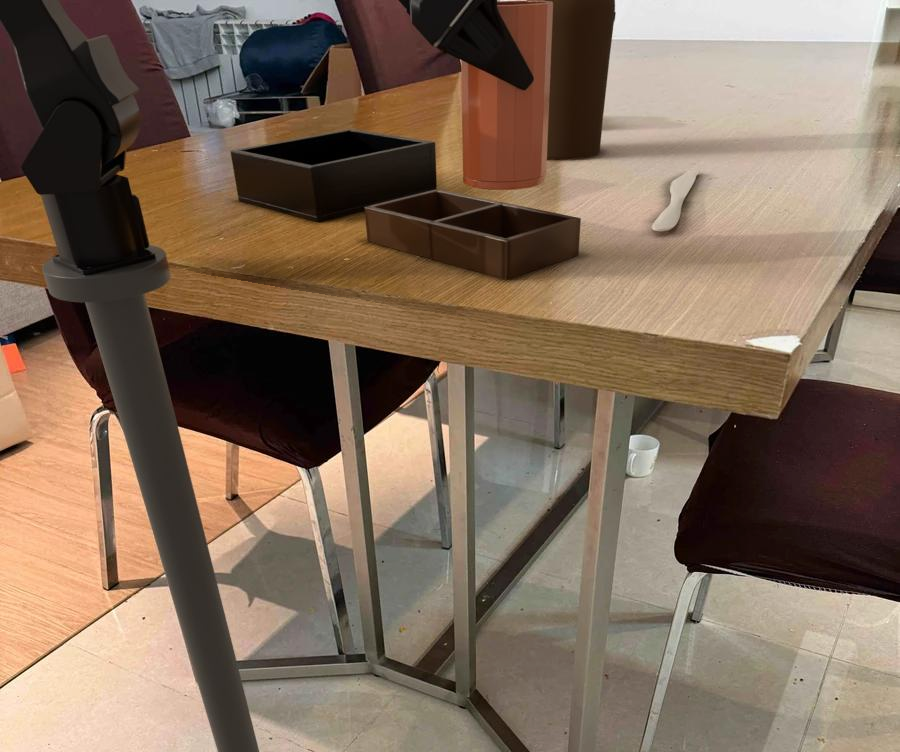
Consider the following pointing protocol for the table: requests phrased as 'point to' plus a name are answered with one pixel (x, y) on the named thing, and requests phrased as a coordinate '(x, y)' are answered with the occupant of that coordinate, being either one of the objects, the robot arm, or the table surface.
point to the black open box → (333, 172)
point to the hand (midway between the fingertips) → (523, 79)
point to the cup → (509, 108)
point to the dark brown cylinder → (578, 76)
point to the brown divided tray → (474, 232)
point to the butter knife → (675, 201)
